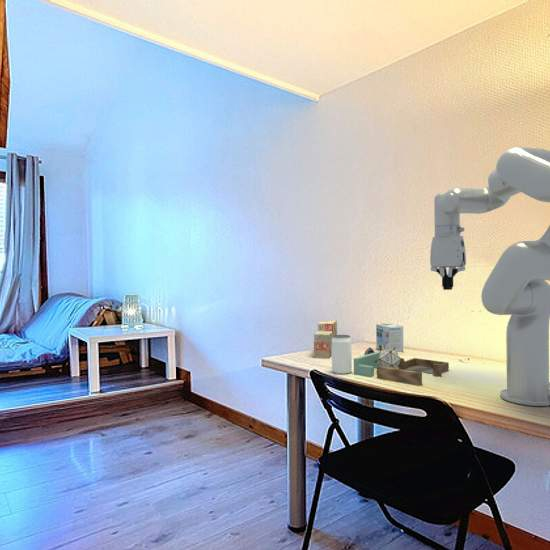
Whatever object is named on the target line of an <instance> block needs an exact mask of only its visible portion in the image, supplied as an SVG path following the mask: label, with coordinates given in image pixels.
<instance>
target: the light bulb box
mask: <svg viewBox="0 0 550 550" xmlns="http://www.w3.org/2000/svg"><path fill="white" fill-rule="evenodd" d="M375 330H376V345H375V346H376V350H378V349H379V348H381V350H389V349H394V348H395V351H396V353H397V352H403V353H404V325H399V324H394V323H388V322H387V323H376V327H375ZM381 350H380V349H379V350H378V351H381ZM397 354H398V353H397Z"/></svg>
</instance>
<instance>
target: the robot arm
mask: <svg viewBox="0 0 550 550" xmlns="http://www.w3.org/2000/svg"><path fill="white" fill-rule="evenodd" d="M487 184H488V186H487V187H484V188H473V187H471V188H470V187H455V188H452V189H450V190H448V191H446V192H439V193H437V194H436V195H434V200H433V205H434V206H433V207H434V210H433V211H434V236H432V239H431V243H430V252H429V253H430V255H429V256H430V259H429V262H430V271H431V272H435V273H438V275H439V276H440V277H441V287H442V289H443V291H444V290H445V291H446V290H447V291H451V290H453V288H454V277H455V276H456V275H457V274H458V273H460V272H464V271H465V270H466V265H467V253H466V245H465V239H464V236H463V235H461V233H462V232H465V227H464V226H461V215H460V214H478V215H479V214H481V215H482V214H486V213H488V212H492V211H493V210H497V209H499V208H501V207H504V206H505V205H506V204H507V203H508V202H509V200H510V198H511V197H513V196H515V195H517V194H520V193H522V194H524V195H526V196H528V197H530V198H532V199H534V200H536V201H538V202H539V201H540V202H542V203H550V150H548V149H544V148H537V147H536V148H535V147H524V146H516V147H512V148H509V149H507V150H506V151H504V152H503V153H502V154H501V155H500V156H499V158H498V160H497V161H496V166H495V169H493V170H492V171H491V172H490V173H489V175H488V178H487ZM547 227H548V228H547V229H546V230H545V232H544V233H543V234H542V236H541V237H540V238H539V239H538V240H523V241H517V242H515V243H512V244H511V245H510V246H508V247H506V249H505V250H504V251H503V252H502V253H501V256H500V257H499V258H498V261H497V262H496V264H495V265H494V266H493V268H492V270H491V272H490V274H489V276H488V277H487V279H486V281H485V283H484V285H483V287H482V290H481V302H482V305H483V307H484V309H486V311H487V312H489V313H491V314H493V315H497V316H509V315H510V317H509V320H508V322H507V326H506V331H505V332H506V337H505V339H506V341H505V342H506V346H505V347H506V348H505V349H506V356H505V357H506V388H505V389H502V390H501V391H500V394H499V396H500V397H501V398H502V400H505V401H507V402H509V403H513V404H517V405H522V406H532V407H547V406H548V407H550V406H549V405H550V341H549V340H550V284H549V282H547V281H550V224H549V225H548V226H547ZM447 268H448V269H447Z"/></svg>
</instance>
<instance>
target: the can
mask: <svg viewBox="0 0 550 550" xmlns="http://www.w3.org/2000/svg"><path fill="white" fill-rule="evenodd" d="M350 337H351V336H350V335H348V334H337V335H334V336H333V339H332V356H331V371H332V373H334V374H336V373H337V375H347V374H346V373H348V374H351V373H350V372H352V371H353V369H352V367H353V366H352V365H353V362H352V359H353V358H352V357H353V355H352V339H351V338H350Z"/></svg>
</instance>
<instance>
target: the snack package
mask: <svg viewBox="0 0 550 550" xmlns="http://www.w3.org/2000/svg"><path fill="white" fill-rule="evenodd" d="M375 352H376V351H375V350H374V349H373V347H369V346H368V348H367V349H366V350H365V351H364V354H363V356H364V355H368V354H371V353H375Z"/></svg>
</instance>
